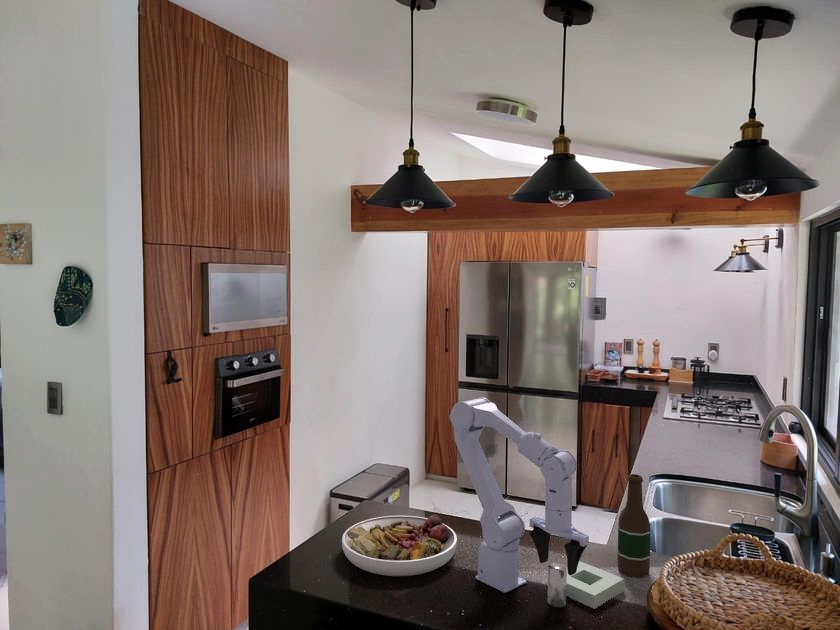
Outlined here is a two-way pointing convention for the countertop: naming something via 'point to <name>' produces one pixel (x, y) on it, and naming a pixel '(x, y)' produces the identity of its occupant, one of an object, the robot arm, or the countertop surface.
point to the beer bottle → (634, 533)
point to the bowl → (399, 545)
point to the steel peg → (557, 585)
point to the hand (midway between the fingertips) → (557, 567)
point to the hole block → (592, 585)
